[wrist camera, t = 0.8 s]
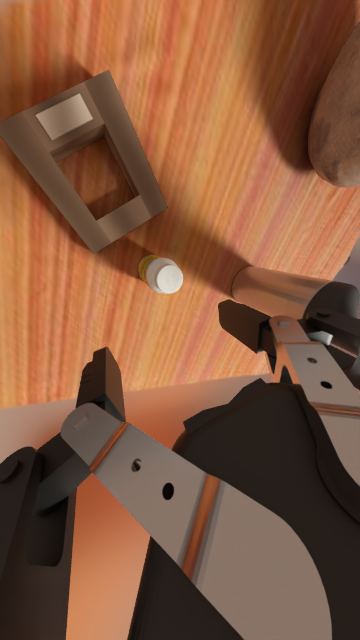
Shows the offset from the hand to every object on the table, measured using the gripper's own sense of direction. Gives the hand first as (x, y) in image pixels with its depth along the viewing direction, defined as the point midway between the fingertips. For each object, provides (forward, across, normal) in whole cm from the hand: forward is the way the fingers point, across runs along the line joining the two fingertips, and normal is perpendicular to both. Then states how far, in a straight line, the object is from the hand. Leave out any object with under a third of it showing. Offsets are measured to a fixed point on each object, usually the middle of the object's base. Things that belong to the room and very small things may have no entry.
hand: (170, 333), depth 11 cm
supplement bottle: (+22, -4, 0) cm, 22 cm away
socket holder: (+21, 0, -13) cm, 25 cm away
